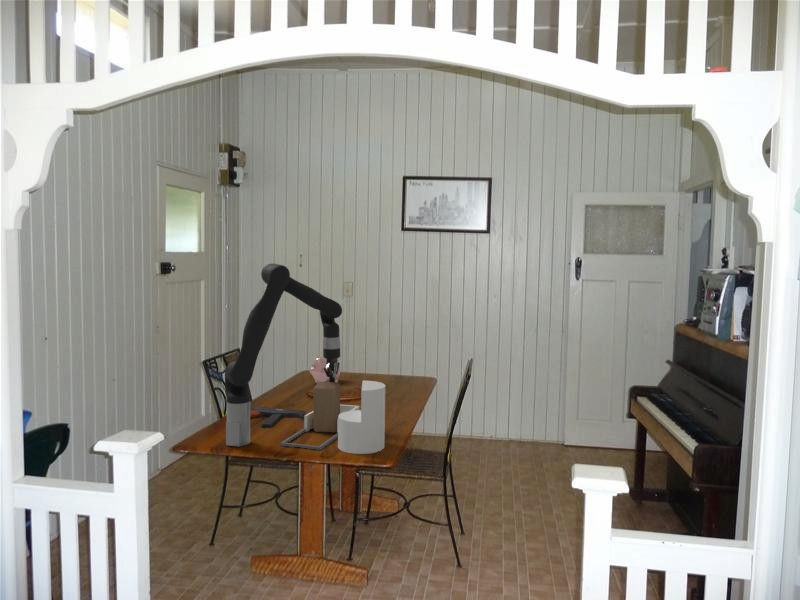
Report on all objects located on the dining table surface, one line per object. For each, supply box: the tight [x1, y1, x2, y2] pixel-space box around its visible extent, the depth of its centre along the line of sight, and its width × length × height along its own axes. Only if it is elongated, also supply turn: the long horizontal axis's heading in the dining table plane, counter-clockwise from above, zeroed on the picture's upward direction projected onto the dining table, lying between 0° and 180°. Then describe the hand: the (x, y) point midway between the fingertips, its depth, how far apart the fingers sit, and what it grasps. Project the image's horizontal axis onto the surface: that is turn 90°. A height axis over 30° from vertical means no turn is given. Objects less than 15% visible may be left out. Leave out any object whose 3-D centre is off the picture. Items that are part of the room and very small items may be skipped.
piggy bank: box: [309, 355, 341, 384], centre depth 379 cm, size 15×18×16 cm
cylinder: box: [337, 380, 386, 455], centre depth 261 cm, size 19×19×25 cm
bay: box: [279, 428, 338, 451], centre depth 268 cm, size 22×17×1 cm
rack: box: [303, 403, 360, 434], centre depth 290 cm, size 24×16×7 cm
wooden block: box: [312, 381, 341, 434], centre depth 282 cm, size 10×10×20 cm
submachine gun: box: [250, 406, 307, 429], centre depth 299 cm, size 32×3×25 cm
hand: (332, 385), depth 287 cm, fingers closed
